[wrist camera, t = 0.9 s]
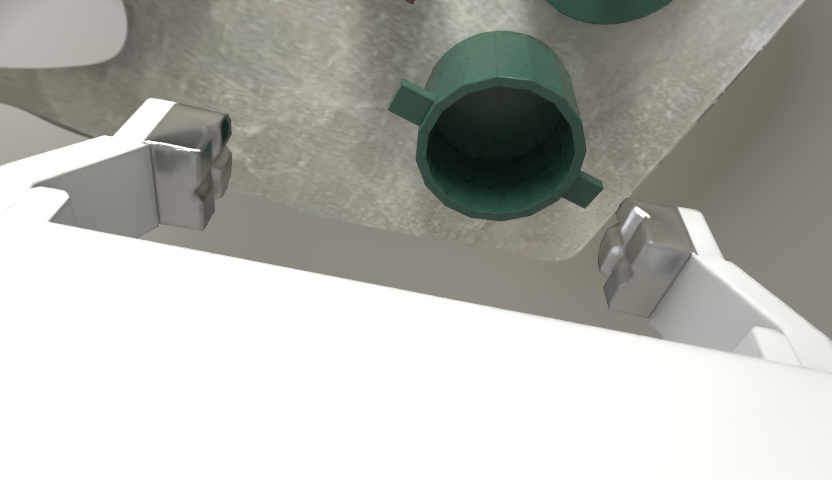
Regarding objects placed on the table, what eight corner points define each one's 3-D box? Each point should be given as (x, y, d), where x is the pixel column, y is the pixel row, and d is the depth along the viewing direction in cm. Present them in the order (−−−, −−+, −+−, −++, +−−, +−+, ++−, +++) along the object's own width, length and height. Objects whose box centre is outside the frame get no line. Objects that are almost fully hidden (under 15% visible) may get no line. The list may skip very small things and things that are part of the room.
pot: (441, -16, 45) (434, 25, 39) (628, 91, 49) (651, 144, 43) (373, 113, 53) (358, 165, 46) (540, 196, 57) (548, 254, 51)
